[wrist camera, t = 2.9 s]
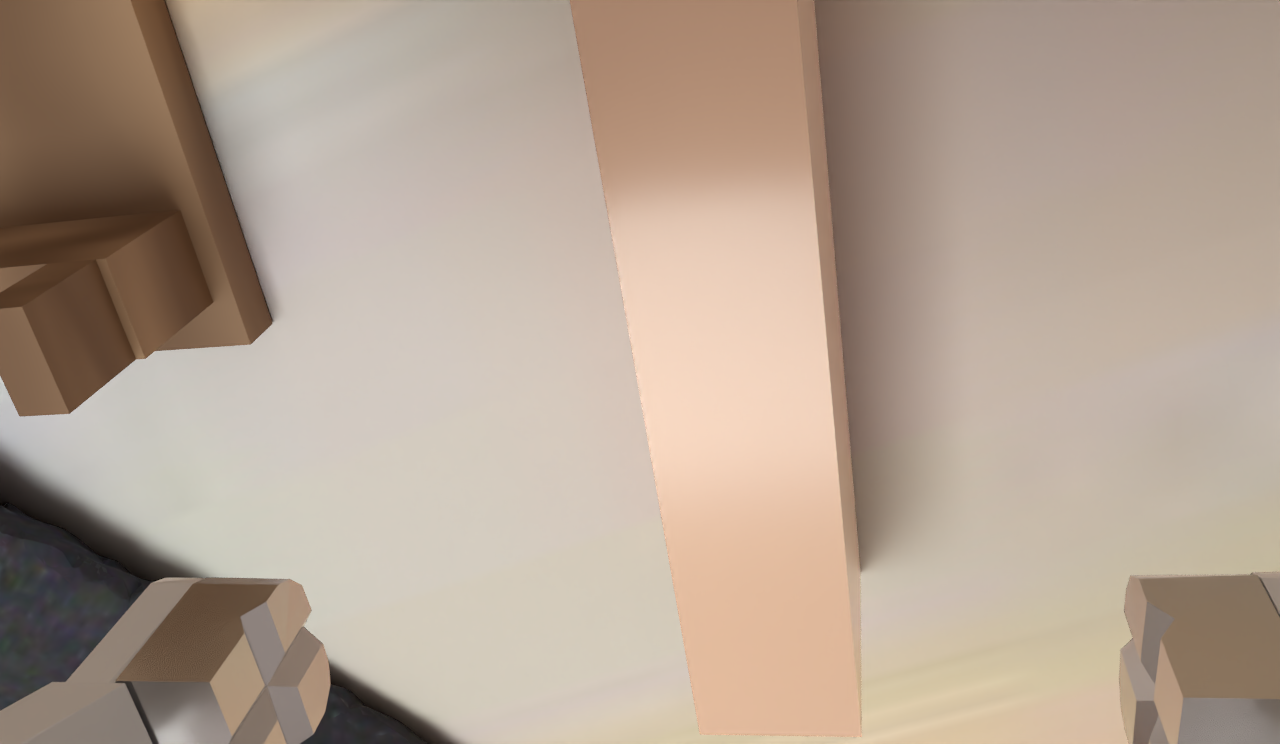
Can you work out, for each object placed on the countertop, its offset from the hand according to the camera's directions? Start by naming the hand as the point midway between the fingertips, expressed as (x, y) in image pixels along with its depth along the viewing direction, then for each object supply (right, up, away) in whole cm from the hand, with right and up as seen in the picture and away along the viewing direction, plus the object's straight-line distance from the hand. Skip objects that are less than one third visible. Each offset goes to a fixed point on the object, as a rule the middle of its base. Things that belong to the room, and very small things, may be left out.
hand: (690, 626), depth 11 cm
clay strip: (+2, +5, +10) cm, 12 cm away
